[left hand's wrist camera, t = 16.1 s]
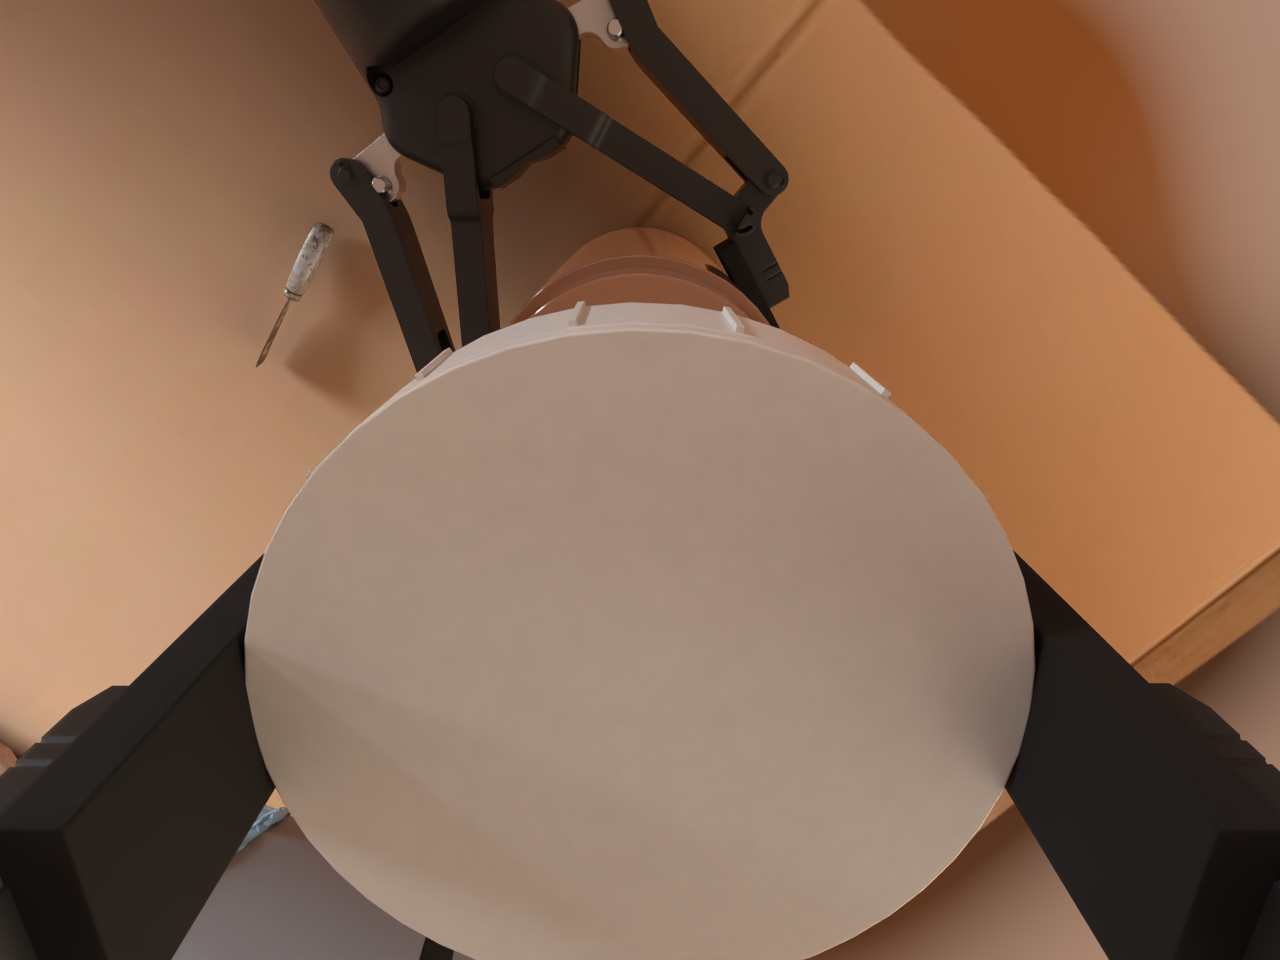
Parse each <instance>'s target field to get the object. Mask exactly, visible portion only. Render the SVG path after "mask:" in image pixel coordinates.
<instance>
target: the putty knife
mask: <svg viewBox="0 0 1280 960" xmlns="http://www.w3.org/2000/svg"><path fill="white" fill-rule="evenodd" d="M332 237H333V230H332V229H331V228H330V227H329V226H327V225H325V224H323V223H319V222H318V223H316V224H315V225H314V226H313V228H312V230H311V231H310V233H309V235H308V236H307V238H306V240H305V242H304V244H303V246H302V248H301V251H300V253H299V255H298V257H297V259H296V262H295V264H294V266H293V268H292V271H291V273H290V275H289V278H288V281H287V284H286V288H285V291H284V295H285V296H286V297H287V298H289V299H288V301H287V303H286V305H285V306H284V308H283V310H282V312H281V314H280V316H279V318H278V320H277V322H276V324H275V326H274V328H273V330H272V332H271V334H270V336H269V338H268V340H267V343H266V345H265V347H264V349H263V351H262V353H261V355H260V357H259V360H258V362H257V365H256V367H257V366H259V365H260V364H261V363H262V362H263V361H264V360H265V358H266V356H267V354H268V351H269V349H270V347H271V344H272V342H273V340H274V338H275V335H276V333H277V331H278V329H279V327H280V325H281V323H282V320H283V318H284V316H285V314H286V312H287V309H288V307H289V304H290V303H291V301H292V300H294V301H299V299H300V297H301V296H302V294H303V293H304V292H305V290H306V288H307V287H308V285H309V283H310V281H311V280H312V278H313V276H314V274H315V272H316V270H317V268H318V267H319V264H320V262H321V260H322V258H323V256H324V253H325V251H326V249H327V247H328V245H329V244H330V242H331V240H332Z"/></svg>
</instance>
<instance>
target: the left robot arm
mask: <svg viewBox="0 0 1280 960" xmlns="http://www.w3.org/2000/svg"><path fill="white" fill-rule="evenodd" d="M1013 552H1014V555H1015V557H1016V560H1017V562H1018V565H1019V568H1020V570H1021V573H1022V575H1023V578H1024V582H1025V587H1026V592H1027V596H1028V601H1029V606H1030V611H1031V615H1032V620H1033V629H1034V651H1035V676H1034V685H1033V694H1032V701H1031V706H1030V711H1029V716H1028V720H1027V724H1026V729H1025V733H1024V737H1023V741H1022V745H1021V748H1020V752H1019V755H1018V757H1017V759H1016V762H1015V764H1014V766H1013V769H1012V771H1011V773H1010V775H1009V778H1008V780H1007V782H1006V785H1005V788H1006V790H1007V792H1008V793H1009V795H1010V797H1011V798H1012V800H1013V802H1014V803H1015V805H1016V807H1017V808H1018V810H1019V812H1020V813H1021V815H1022V816H1023V818H1024V820H1025V821H1026V823H1027V825H1028V826H1029V828H1030V830H1031V831H1032V833H1033V835H1034V836H1035V838H1036V840H1037V841H1038V843H1039V845H1040V846H1041V848H1042V849H1043V851H1044V853H1045V854H1046V856H1047V858H1048V860H1049V861H1050V863H1051V864H1052V866H1053V868H1054V869H1055V871H1056V873H1057V874H1058V876H1059V878H1060V879H1061V881H1062V883H1063V884H1064V886H1065V888H1066V889H1067V891H1068V893H1069V894H1070V896H1071V898H1072V899H1073V901H1074V902H1075V904H1076V906H1077V907H1078V909H1079V911H1080V912H1081V914H1082V916H1083V917H1084V919H1085V921H1086V922H1087V924H1088V926H1089V927H1090V929H1091V931H1092V932H1093V934H1094V936H1095V937H1096V939H1097V941H1098V942H1099V944H1100V946H1101V947H1102V949H1103V951H1104V952H1105V954H1106V955H1107V957H1108V959H1109V960H1280V771H1279V770H1278V769H1277V768H1275V767H1274V766H1273V765H1272V764H1267V763H1266V761H1265V757H1263V756H1262V755H1261V754H1260V753H1259V752H1258V751H1257V750H1256V749H1255V748H1254V747H1253V746H1251V745H1250V744H1249V743H1248V742H1247V741H1241V739H1240V735H1239V734H1238V733H1237V732H1236V731H1235V730H1234V729H1233V728H1232V727H1231V726H1230V725H1229V724H1228V723H1226V722H1225V721H1224V720H1223V719H1222V718H1221V717H1220V716H1219V715H1218V714H1217V713H1216V712H1214V711H1213V710H1212V709H1211V708H1210V707H1209V706H1207V705H1205V704H1203V703H1202V702H1200V701H1198V700H1197V699H1195V698H1193V697H1191V696H1190V695H1188V694H1186V693H1185V692H1183V691H1181V690H1179V689H1178V688H1176V687H1174V686H1173V685H1171V684H1169V683H1148V682H1147V681H1146V680H1145V679H1144V678H1143V677H1142V676H1141V675H1140V674H1139V673H1138V672H1137V671H1136V670H1135V669H1134V668H1133V667H1132V666H1131V665H1130V664H1129V663H1128V662H1127V661H1126V660H1125V659H1124V658H1123V657H1122V656H1121V655H1120V654H1119V653H1117V652H1116V651H1115V650H1114V649H1113V648H1112V647H1111V646H1110V645H1109V644H1108V643H1107V642H1106V641H1105V640H1104V639H1103V638H1102V637H1101V636H1100V635H1099V634H1098V633H1097V632H1096V631H1095V630H1094V629H1093V628H1092V627H1091V626H1090V625H1089V624H1088V623H1087V622H1086V621H1085V620H1084V619H1083V618H1082V617H1081V616H1080V615H1079V614H1078V613H1077V612H1076V611H1075V610H1074V609H1073V608H1072V607H1071V606H1070V605H1069V604H1068V603H1067V602H1065V601H1064V600H1063V599H1062V598H1061V597H1060V596H1059V595H1058V594H1057V593H1056V592H1055V591H1054V590H1053V589H1052V588H1051V587H1050V586H1049V585H1048V584H1047V583H1046V582H1045V581H1044V580H1043V579H1042V578H1041V577H1040V576H1039V575H1038V574H1037V573H1036V572H1035V571H1034V570H1033V569H1032V568H1031V567H1030V566H1029V565H1028V564H1027V563H1026V562H1025V561H1024V560H1023V559H1022V558H1021V557H1020V556H1019V555H1018V554H1017V553H1016V552H1015V551H1013ZM263 557H264V554H263V555H262V556H261V557H260V558H259V559H258V560H257V561H256V562H255V563H254V564H253V565H252V566H251V567H250V568H249V569H248V570H247V571H246V572H245V573H244V574H243V575H242V576H241V577H240V578H238V579H237V580H236V581H235V582H234V583H233V584H232V585H231V586H230V587H229V588H228V589H227V590H226V591H225V592H224V593H223V594H222V595H221V596H220V597H219V598H218V599H217V600H216V601H215V602H214V603H213V604H212V605H211V606H210V607H209V608H208V609H207V610H206V611H205V612H204V613H203V614H202V615H201V616H200V617H199V618H198V619H197V620H196V621H195V622H194V623H193V624H192V625H191V626H190V627H189V628H188V629H187V630H185V631H184V632H183V633H182V634H181V635H180V636H179V637H178V638H177V639H176V640H175V641H174V642H173V643H172V644H171V645H170V646H169V647H168V648H167V649H166V650H165V651H164V652H163V653H162V654H161V655H160V656H159V657H158V658H157V659H156V660H155V661H154V662H153V663H152V664H151V665H150V666H149V667H148V668H147V669H146V670H145V671H144V672H143V673H142V674H141V675H140V676H139V677H138V678H137V679H136V680H135V681H133V682H132V683H131V684H130V685H129V686H111V687H110V688H108V689H106V690H104V691H103V692H101V693H99V694H98V695H96V696H94V697H92V698H91V699H89V700H87V701H86V702H84V703H82V704H80V705H79V706H77V707H75V708H74V709H72V710H71V711H70V712H69V713H68V714H66V715H65V716H64V717H63V718H62V719H61V720H60V721H59V722H58V723H57V724H56V725H55V726H54V727H52V728H51V729H50V730H49V731H48V732H47V733H46V734H45V735H44V736H43V737H42V740H41V743H35V744H34V745H33V746H32V747H31V748H30V749H29V750H28V751H26V752H25V753H24V754H23V755H22V756H21V757H20V758H19V759H18V760H17V761H16V766H15V767H9V768H8V769H7V770H6V771H5V772H4V773H3V774H2V775H0V960H475V959H473V958H471V957H468V956H466V955H464V954H461V953H459V952H457V951H454V950H452V949H450V948H447V947H445V946H443V945H440V944H438V943H437V942H435V941H433V940H431V939H429V938H428V937H426V936H424V935H422V934H420V933H419V932H417V931H415V930H413V929H411V928H410V927H408V926H406V925H404V924H402V923H401V922H400V921H398V920H397V919H395V918H394V917H392V916H391V915H390V914H388V913H387V912H385V911H384V910H382V909H381V908H380V907H378V906H377V905H375V904H374V903H373V902H371V901H370V900H368V899H367V898H366V897H365V896H364V895H363V894H361V893H360V892H359V891H358V890H357V889H356V888H355V887H354V886H352V885H351V884H350V883H349V882H348V881H347V880H346V879H344V878H343V877H342V876H341V875H340V874H339V873H338V872H337V871H336V870H335V869H334V868H333V867H332V866H331V865H330V864H329V862H328V861H327V860H326V859H325V858H324V857H323V856H322V855H321V853H320V852H319V851H318V850H317V849H316V848H315V847H314V846H313V844H312V843H311V842H310V841H309V840H308V839H307V837H306V836H305V834H304V833H303V831H302V830H301V828H300V827H299V825H298V824H297V822H296V821H295V820H294V818H293V817H291V816H290V815H291V814H290V812H289V811H288V809H287V808H285V807H281V808H278V809H275V808H272V807H270V806H267V805H265V804H266V802H267V801H268V799H269V797H270V796H271V794H272V792H273V791H274V789H275V788H276V787H275V785H274V783H273V781H272V779H271V777H270V775H269V773H268V771H267V769H266V767H265V764H264V761H263V758H262V755H261V752H260V748H259V744H258V740H257V736H256V732H255V727H254V723H253V718H252V713H251V709H250V704H249V699H248V694H247V690H246V685H245V642H244V641H245V634H246V627H247V620H248V613H249V607H250V600H251V594H252V591H253V588H254V585H255V582H256V579H257V575H258V572H259V569H260V566H261V563H262V560H263Z"/></svg>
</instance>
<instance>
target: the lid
mask: <svg viewBox="0 0 1280 960" xmlns="http://www.w3.org/2000/svg"><path fill="white" fill-rule="evenodd" d="M414 377H415V379H414V380H412V381H411V382H410V383H408V384H407V385H406V386H404V387H403V388H402V389H401V390H399V391H398V392H397V393H396V394H395V395H394V396H392V397H391V398H390V399H389V400H388V401H387V402H385V403H384V404H383V405H382V406H381V407H379V408H378V409H377V410H376V411H375V412H374V413H372V414H371V415H370V416H369V417H368V418H367V419H365V420H364V421H363V422H362V423H361V424H360V425H358V426H357V427H356V428H355V429H354V430H353V431H352V432H351V433H350V434H349V435H348V436H347V437H346V438H345V439H344V440H343V441H342V442H341V443H340V444H339V445H338V446H337V447H336V448H335V449H334V450H333V451H332V452H331V453H330V454H329V455H328V456H326V457H325V458H324V459H323V460H322V461H321V462H319V463H318V464H317V465H316V466H315V467H314V468H313V469H311V470H310V471H309V473H308V474H307V475H306V477H307V478H308V480H307V481H306V482H305V484H304V485H303V487H302V488H301V489H300V491H299V492H298V493H297V495H296V496H295V498H294V499H293V500H292V502H291V503H290V504H289V506H288V507H287V509H286V511H285V513H284V515H283V517H282V519H281V521H280V523H279V525H278V527H277V529H276V531H275V533H274V535H273V537H272V539H271V541H270V543H269V545H268V547H267V548H266V550H265V553H264V557H263V560H262V563H261V566H260V569H259V572H258V575H257V579H256V582H255V585H254V588H253V591H252V594H251V600H250V607H249V613H248V620H247V627H246V634H245V641H244V642H245V685H246V690H247V694H248V699H249V704H250V709H251V713H252V718H253V723H254V727H255V732H256V736H257V740H258V744H259V748H260V752H261V755H262V758H263V761H264V764H265V767H266V769H267V771H268V773H269V775H270V777H271V779H272V781H273V783H274V785H275V787H276V789H277V791H278V793H279V795H280V797H281V799H282V801H283V803H284V805H285V806H286V808H287V809H288V811H289V812H290V814H291V815H292V817H293V818H294V820H295V821H296V822H297V824H298V825H299V827H300V828H301V830H302V831H303V833H304V834H305V836H306V837H307V839H308V840H309V841H310V842H311V843H312V844H313V846H314V847H315V848H316V849H317V850H318V851H319V852H320V853H321V855H322V856H323V857H324V858H325V859H326V860H327V861H328V862H329V864H330V865H331V866H332V867H333V868H334V869H335V870H336V871H337V872H338V873H339V874H340V875H341V876H342V877H343V878H344V879H346V880H347V881H348V882H349V883H350V884H351V885H352V886H354V887H355V888H356V889H357V890H358V891H359V892H360V893H361V894H363V895H364V896H365V897H366V898H367V899H368V900H370V901H371V902H373V903H374V904H375V905H377V906H378V907H380V908H381V909H382V910H384V911H385V912H387V913H388V914H390V915H391V916H392V917H394V918H395V919H397V920H398V921H400V922H401V923H402V924H404V925H406V926H408V927H410V928H411V929H413V930H415V931H417V932H419V933H420V934H422V935H424V936H426V937H428V938H429V939H431V940H433V941H435V942H437V943H438V944H440V945H443V946H445V947H447V948H450V949H452V950H454V951H457V952H459V953H461V954H464V955H466V956H468V957H471V958H473V959H475V960H804V959H806V958H809V957H812V956H815V955H817V954H819V953H821V952H823V951H825V950H828V949H830V948H832V947H834V946H836V945H838V944H840V943H842V942H845V941H847V940H849V939H851V938H853V937H855V936H856V935H858V934H860V933H861V932H863V931H865V930H866V929H868V928H870V927H871V926H873V925H875V924H876V923H878V922H880V921H881V920H883V919H885V918H886V917H888V916H890V915H891V914H892V913H894V912H895V911H896V910H897V909H899V908H900V907H901V906H903V905H904V904H905V903H906V902H908V901H909V900H910V899H912V898H913V897H914V896H916V895H917V894H918V893H920V892H921V891H922V890H924V889H925V888H926V887H927V886H928V885H929V884H930V883H931V882H932V881H933V880H934V879H935V878H936V877H937V876H938V875H939V874H940V873H941V872H942V871H943V870H944V869H945V868H946V867H947V866H948V865H949V864H950V863H952V862H953V861H954V859H955V858H956V857H957V856H958V855H959V853H960V852H961V851H962V850H963V848H964V847H965V846H966V845H967V843H968V842H969V841H970V840H971V839H972V837H973V836H974V835H975V834H976V832H977V831H978V830H979V829H980V827H981V826H982V824H983V822H984V821H985V819H986V818H987V816H988V814H989V813H990V811H991V809H992V808H993V806H994V805H995V803H996V801H997V800H998V798H999V796H1000V795H1001V793H1002V791H1003V789H1004V787H1005V785H1006V782H1007V780H1008V778H1009V775H1010V773H1011V771H1012V769H1013V766H1014V764H1015V762H1016V759H1017V757H1018V755H1019V752H1020V748H1021V745H1022V741H1023V737H1024V733H1025V729H1026V724H1027V720H1028V716H1029V711H1030V706H1031V701H1032V694H1033V685H1034V676H1035V651H1034V629H1033V620H1032V615H1031V611H1030V606H1029V601H1028V596H1027V592H1026V587H1025V582H1024V578H1023V575H1022V573H1021V570H1020V568H1019V565H1018V562H1017V560H1016V557H1015V555H1014V552H1013V550H1012V547H1011V544H1010V542H1009V539H1008V537H1007V534H1006V532H1005V531H1004V529H1003V527H1002V526H1001V524H1000V522H999V521H998V519H997V517H996V515H995V514H994V512H993V510H992V509H991V507H990V505H989V503H988V502H987V501H988V499H987V497H986V495H985V494H984V493H983V492H982V491H981V490H980V489H979V488H978V487H977V486H976V484H975V483H974V482H973V481H972V479H971V478H970V477H969V476H968V475H967V473H966V472H965V471H964V470H963V468H962V467H961V466H960V465H959V464H958V462H957V461H956V460H955V459H954V457H953V456H952V455H951V454H950V453H949V451H947V450H946V449H945V448H944V447H943V446H942V445H941V444H940V443H939V442H937V441H936V440H935V439H934V438H933V437H932V436H931V435H930V434H928V433H927V432H926V431H925V430H924V429H923V428H922V427H921V426H920V425H918V424H917V423H916V422H915V421H914V420H913V419H912V418H911V417H910V416H908V415H907V414H906V413H905V412H904V411H903V410H901V409H900V408H899V407H898V406H897V405H896V404H894V403H893V402H892V401H891V400H890V399H889V398H888V397H889V396H890V395H891V392H890V391H888V390H887V389H886V388H885V387H883V386H882V385H881V384H880V383H879V382H877V381H876V380H875V379H874V378H873V377H871V376H870V375H869V374H868V373H867V372H865V371H864V370H863V369H862V368H861V367H859V366H858V365H857V364H855V363H854V362H853V363H852V364H851V366H850V367H848V366H847V365H845V364H844V363H842V362H841V361H839V360H838V359H836V358H835V357H833V356H832V355H830V354H829V353H827V352H826V351H824V350H823V349H820V348H818V347H816V346H814V345H812V344H810V343H808V342H806V341H804V340H802V339H800V338H798V337H795V336H793V335H791V334H789V333H787V332H785V331H783V330H781V329H779V328H776V327H772V326H769V325H766V324H763V323H760V322H757V321H754V320H751V319H747V318H744V317H741V316H738V315H736V314H735V313H734V311H733V310H732V309H731V308H730V307H726V306H724V307H723V311H722V312H721V311H715V310H710V309H704V308H698V307H693V306H687V305H682V304H658V303H635V302H628V303H617V304H606V305H595V306H586V305H585V301H580V302H577V304H576V306H575V308H573V309H568V310H564V311H560V312H555V313H551V314H546V315H542V316H538V317H533V318H529V319H527V320H524V321H521V322H519V323H516V324H513V325H511V326H508V327H506V328H503V329H500V330H498V331H495V332H492V333H490V334H487V335H484V336H482V337H480V338H479V339H477V340H475V341H473V342H471V343H469V344H468V345H466V346H464V347H462V348H460V349H458V350H457V351H455V352H452V350H451V349H450V347H449V348H447V349H446V350H444V351H443V352H442V353H440V354H439V355H438V356H437V357H436V358H434V359H433V360H432V361H431V362H430V363H429V364H427V365H426V366H425V367H424V368H423V369H421V370H420V371H419V372H418V373H417V374H415V375H414Z"/></svg>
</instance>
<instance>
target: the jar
mask: <svg viewBox="0 0 1280 960" xmlns="http://www.w3.org/2000/svg"><path fill="white" fill-rule="evenodd" d="M580 301H585V305H586V306H595V305H606V304H617V303H628V302H635V303H658V304H682V305H687V306H693V307H698V308H704V309H710V310H715V311H721V312H722V311H723V307H724V306H726V307H730V308H731V309H732V310H733V311H734V313H735V314H736V315H738V316H741V317H744V318H747V319H751V320H754V321H757V322H760V323H763V324H766V325H769V326H770V324H769V323H768V321H767V320H766V319H765V317H764V316H763V315H762V313H761V312H760V311H759V309H758V308H757V307H756V306H755V305H754V304H753V303H752V302H751V301H750V300H749V299H748V297H747V296H746V295H745V294H744V293H743V292H742V291H741V290H740V289H739V288H738V287H737V286H736V285H735V284H734V283H733V282H732V281H731V279H730V278H729V277H728V276H727V275H726V274H725V273H724V272H723V271H722V270H721V269H720V268H719V267H718V266H717V265H716V264H715V263H714V262H713V260H712V259H711V258H710V257H709V256H708V255H707V254H706V253H705V252H703V251H702V250H701V249H700V248H698V247H697V246H696V245H694V244H693V243H692V242H690V241H688V240H686V239H684V238H683V237H681V236H678V235H676V234H673V233H671V232H668V231H664V230H660V229H655V228H645V227H638V228H626V229H620V230H615V231H612V232H609V233H606V234H603V235H601V236H599V237H597V238H595V239H593V240H591V241H590V242H588V243H587V244H585V245H584V246H582V247H581V248H580V249H579V250H578V251H576V252H575V253H574V254H573V255H572V256H571V257H570V258H569V259H568V260H567V261H566V262H565V263H564V264H563V265H562V266H561V267H560V268H559V269H558V270H557V271H556V273H555V274H554V275H553V276H552V277H551V278H550V279H549V280H548V281H547V282H546V283H545V284H544V285H543V286H542V287H541V288H540V289H539V290H538V291H537V292H536V293H535V294H534V295H533V296H532V297H531V298H530V300H529V301H528V302H527V303H526V304H525V305H524V306H523V308H522V309H521V310H520V311H519V312H518V313H517V314H516V316H515V317H514V319H513V320H512V322H511V323H510V325H509V326H511V325H513V324H516V323H519V322H521V321H524V320H527V319H529V318H533V317H538V316H542V315H546V314H551V313H555V312H560V311H564V310H568V309H573V308H575V306H576V304H577V302H580Z"/></svg>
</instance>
